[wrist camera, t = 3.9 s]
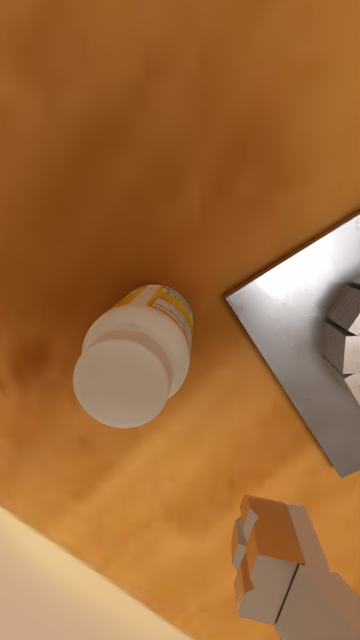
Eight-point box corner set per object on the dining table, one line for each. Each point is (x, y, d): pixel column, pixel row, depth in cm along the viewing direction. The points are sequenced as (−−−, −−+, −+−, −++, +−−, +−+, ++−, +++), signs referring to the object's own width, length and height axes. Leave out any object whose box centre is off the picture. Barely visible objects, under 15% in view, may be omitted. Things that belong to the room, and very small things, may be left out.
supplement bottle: (196, 285, 21) (192, 327, 12) (191, 359, 22) (184, 449, 13) (116, 280, 21) (52, 317, 12) (117, 354, 23) (59, 437, 13)
